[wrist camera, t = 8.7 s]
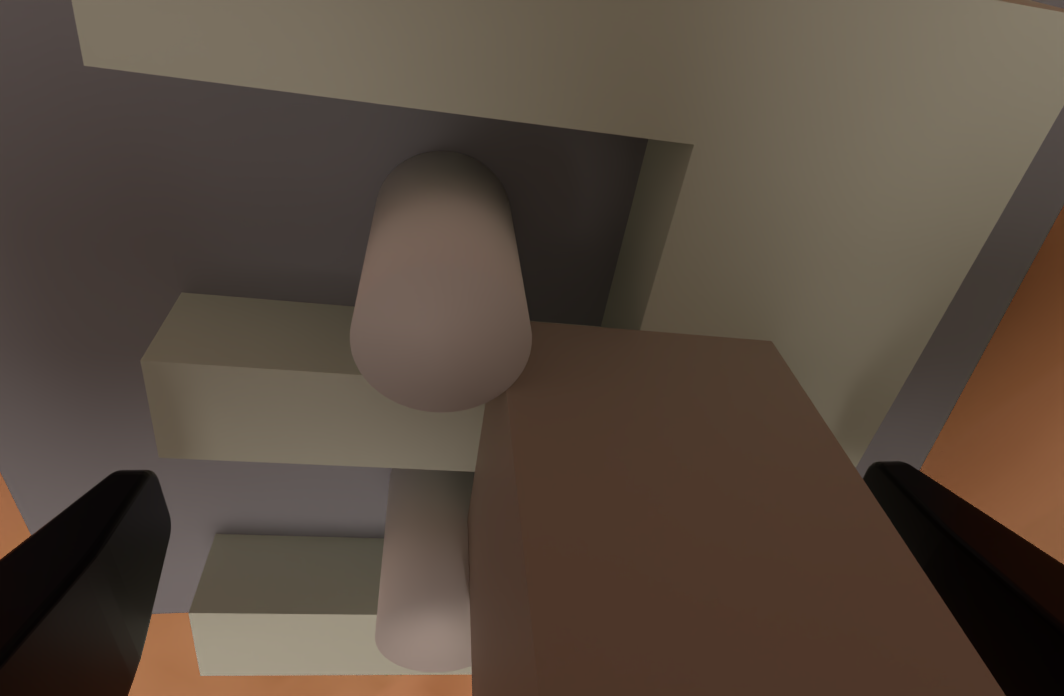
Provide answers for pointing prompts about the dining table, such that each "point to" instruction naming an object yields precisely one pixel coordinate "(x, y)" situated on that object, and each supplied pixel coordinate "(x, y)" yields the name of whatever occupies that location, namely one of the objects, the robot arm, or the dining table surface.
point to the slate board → (334, 292)
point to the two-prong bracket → (630, 336)
